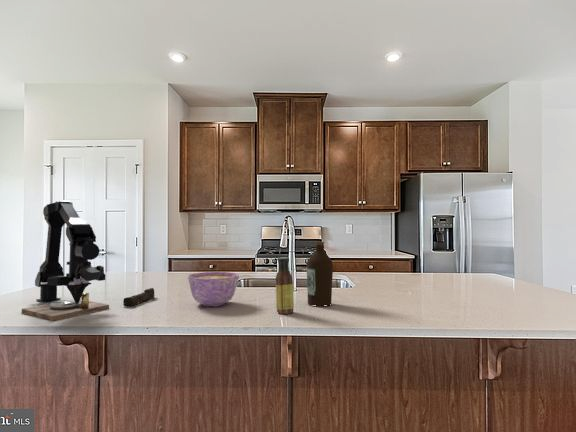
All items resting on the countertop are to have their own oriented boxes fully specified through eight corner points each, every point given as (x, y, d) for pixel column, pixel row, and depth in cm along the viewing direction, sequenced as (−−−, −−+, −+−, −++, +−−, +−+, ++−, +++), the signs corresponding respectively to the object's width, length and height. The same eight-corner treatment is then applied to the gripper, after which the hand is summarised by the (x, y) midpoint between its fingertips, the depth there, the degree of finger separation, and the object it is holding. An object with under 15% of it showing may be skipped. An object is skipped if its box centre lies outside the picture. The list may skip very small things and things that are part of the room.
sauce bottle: (295, 311, 134) (296, 257, 134) (290, 315, 128) (290, 258, 128) (279, 310, 136) (279, 256, 136) (272, 313, 130) (273, 258, 130)
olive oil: (324, 300, 153) (325, 241, 153) (337, 306, 143) (338, 242, 144) (301, 302, 149) (302, 241, 149) (313, 308, 139) (314, 242, 139)
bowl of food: (249, 304, 145) (249, 275, 145) (206, 313, 131) (207, 280, 131) (218, 297, 159) (219, 270, 159) (177, 304, 144) (177, 275, 144)
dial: (43, 308, 129) (43, 294, 129) (66, 302, 139) (67, 289, 139) (76, 310, 125) (76, 296, 126) (98, 304, 135) (98, 291, 135)
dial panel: (21, 312, 129) (21, 308, 129) (77, 302, 146) (78, 298, 146) (52, 320, 119) (52, 315, 119) (109, 308, 136) (109, 304, 136)
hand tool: (131, 308, 138) (132, 295, 139) (122, 307, 139) (122, 295, 139) (159, 298, 157) (160, 287, 157) (151, 297, 158) (151, 287, 158)
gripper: (70, 260, 117) (69, 310, 116) (117, 257, 135) (115, 300, 134) (47, 260, 121) (45, 307, 120) (95, 257, 139) (93, 298, 138)
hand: (77, 303), depth 128 cm, fingers closed
